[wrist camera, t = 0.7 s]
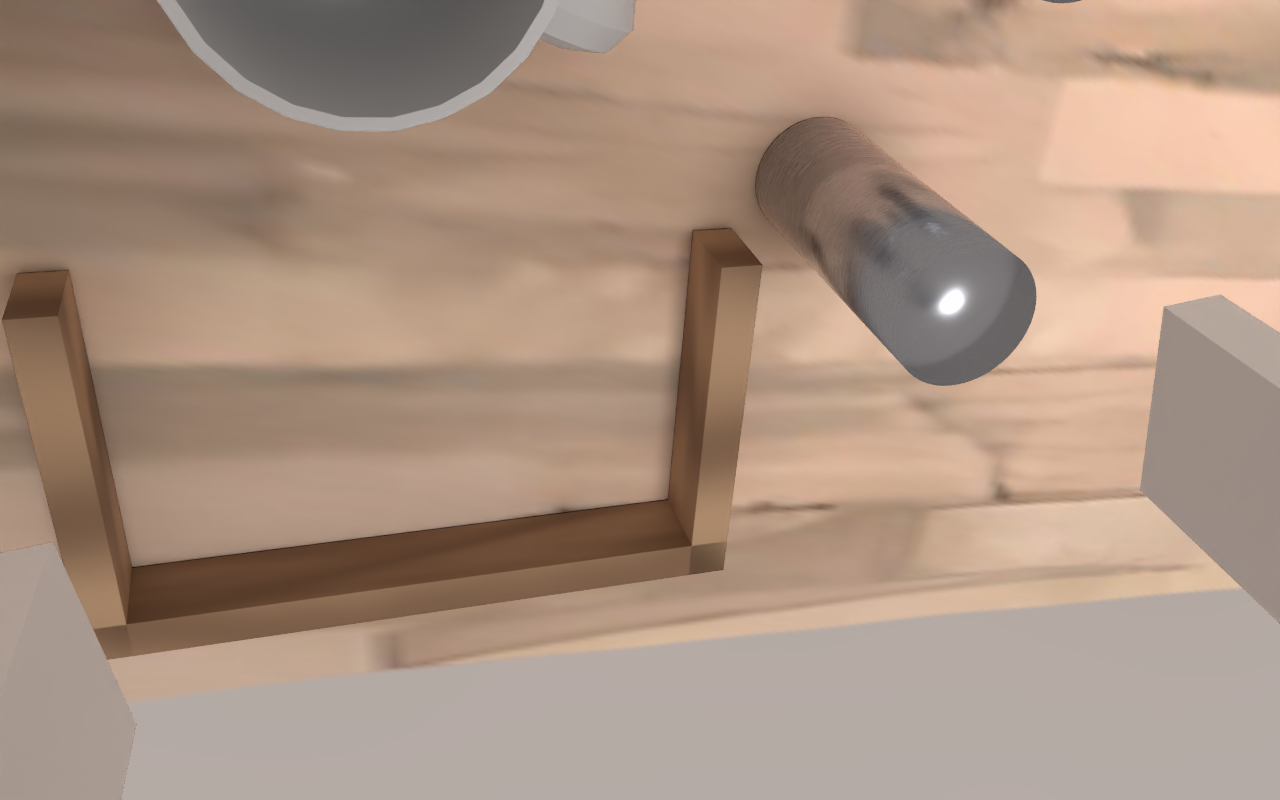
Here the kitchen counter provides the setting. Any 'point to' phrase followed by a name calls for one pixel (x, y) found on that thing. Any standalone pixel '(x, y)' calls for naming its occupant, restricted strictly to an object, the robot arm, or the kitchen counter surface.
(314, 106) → the cup
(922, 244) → the spacers
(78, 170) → the kitchen counter surface
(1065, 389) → the kitchen counter surface
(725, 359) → the bay
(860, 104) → the kitchen counter surface
